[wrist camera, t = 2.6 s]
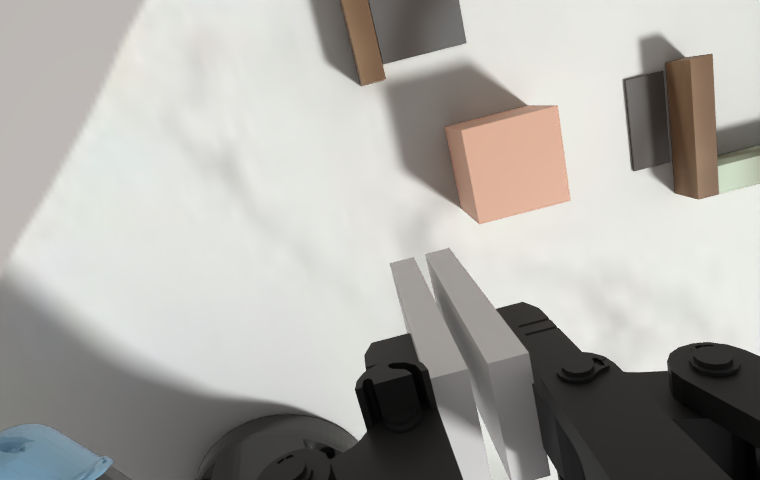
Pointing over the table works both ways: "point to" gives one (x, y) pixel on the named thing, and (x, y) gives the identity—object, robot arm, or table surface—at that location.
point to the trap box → (643, 94)
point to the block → (509, 162)
